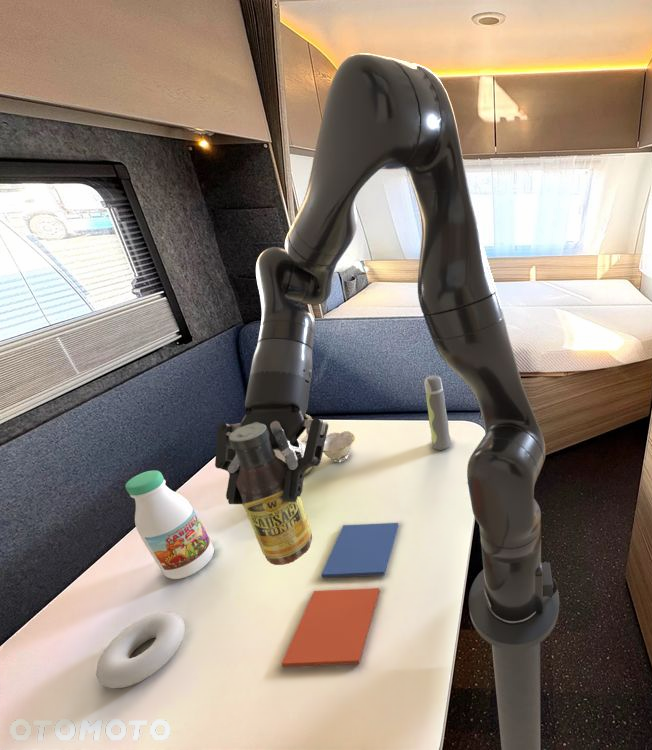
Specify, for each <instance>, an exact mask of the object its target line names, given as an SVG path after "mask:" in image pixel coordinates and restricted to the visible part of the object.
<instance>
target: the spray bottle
mask: <svg viewBox="0 0 652 750" xmlns="http://www.w3.org/2000/svg"><path fill="white" fill-rule="evenodd" d="M423 384H424V390H425V400H426V406H427V413H428V422H429V423H428V424H429V429H430V434H431V437H430V438H431V445H432V447H433V449H435V450H436V451H437V450H438V451H442V450H446V449H448V448H449V447H450V446H451V444H452V440H451V436H450V429H449V428H450V427H449V420H448V415H447V409H446V399H445V392H444V388H443V383H442V378H441V377H440V376H438V375H429V376H427V377H426V378H425V379H424V383H423Z"/></svg>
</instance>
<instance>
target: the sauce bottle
mask: <svg viewBox="0 0 652 750" xmlns="http://www.w3.org/2000/svg"><path fill="white" fill-rule="evenodd" d="M269 436H270V435H269V431H268V429H267V426H266V425H264V424H260V423H254V424H249V425H245V426H242V427H240V428H238V429H236V430H235V431H233V432H232V433H231V434H230V436H229V441H230V444H231V447H232V448H233V449H234V450H235V451H236V454H237V456H238V459H239V462H240V466H241V468H240V472H239V475H238V479H237V483H236V484H237V488H238V490H239V492H240V495H241V498H242V503H243V505H242V506H243V508H244V510H245V513H246V516H247V519H248V520H249V522H250V525H251V528H252V530H253V532H254V535H255V538H256V540H257V542H258V545H259V547H260V550H261V552H262V554H263V556H264V557H265V559H266V561H267V562H268V563H269V564H272V565H274V566H284V565H288V564H290V563H294V562H295V561H296V560H298V559H300V558H301V557H302V556H303V555H304V554H306V553H307V552H308V551H309V550H310V548H311V544H312V540H313V533H312V529H311V526H310V523H309V520H308V516H307V514H306V510H305V508H304V504H303V501H302V498H301V496H300V497H297V500H296V502H284V501H283V491H284V483H285V476H286V471H289V467H288V465H287V463H285V462H284V461H282V460H281V459H279V458H277V457H276V455H275V452H274V450H273V449H272V445H271V443H270V440H269Z"/></svg>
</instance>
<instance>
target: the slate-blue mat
mask: <svg viewBox="0 0 652 750" xmlns="http://www.w3.org/2000/svg"><path fill="white" fill-rule="evenodd" d="M398 528H399V523H398V522H387V523H364V524H344V525H342V526H341V530H340V531H339V534H338V536H337V538H336V541H335V543H334V545H333V547H332V549H331V551H330V554H329V556H328V559H327V561H326V563H325V565H324V567H323V570H322V571H321V574H320V575H321V578H340V577H341V578H343V577H344V578H345V577H346V578H347V577H367V576H368V577H369V576H370V577H371V576H385V574H386V570H387V568H388V563H389V560H390V557H391V553H392V549H393V546H394V543H395V539H396V536H397V532H398Z"/></svg>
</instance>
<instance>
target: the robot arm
mask: <svg viewBox="0 0 652 750" xmlns="http://www.w3.org/2000/svg"><path fill="white" fill-rule="evenodd" d="M328 89H329V90H328V93H327V97H326V100H325V104H324V109H323V113H322V117H321V123H320V127H319V132H318V136H317V141H316V144H315V145H316V146H315V150H314V155H313V159H312V166H311V171H310V174H309V179H308V184H307V188H306V192H305V195H304V198H303V200H302V203H301V205H300V207H299V209H298V210H297V211H298V212H297V213H296V215H295V217H294V220H293V221H292V223H291V225H290V226H289V227H290V228H289V229H288V231H287V233H286V237H285V239H284V248H282V247H279V246H272V247H268V248H266V249H265V250H263V251H261V253H260V254H259V256H258V257H257V260H256V264H255V277H256V279H255V280H256V284H257V289H258V293H259V299H260V300H259V301H260V307H261V310H260V311H261V317H260V318H261V321H260V325H259V333H258V339H257V345H256V348H255V350H254V353H253V356H252V361H251V366H250V372H249V378H248V383H247V388H246V394H245V400H244V407H245V415H244V416H243V418H242V420H241V421H240V422H238V423H231V424H229V423H226V422H221V423H220V424H218V426H217V435H216V445H215V447H216V449H215V463H214V466H215V468H217V469H220V470H224V471H226V472H228V475H229V476H228V481H227V488H226V493H225V498H226V500H227V502H228V505H242V504H243V503H242V498H241V495H240V492H239V490H238V488H237V484H236V483H237V479H238V475H239V472H240V468H241V466H240V462H239V459H238V456H237V454H236V451H235V450H234V449H233V448H232V447H231V444H230V441H229V436H230V434H231V433H232V432H233V431H235V430H236V429H238V428H240V427H242V426H245V425H249V424H254V423H260V424H264V425H266V426H267V429H268V431H269V435H270V436H269V440H270V443H271V445H272V449H273V450H279V451H280V452H281V453H282V454H283V455H284V457H285V460H286V462H287V465H288V467H289V471H286V476H285V483H284V491H283V501H284V502H296V500H297V497H300V498H301V495H302V493H303V484H304V477H305V475H304V472H305V470H306V469H307V468H310V467H312V466H313V467H318V466H319V465H320V464H321V462H322V459H323V454H324V453H323V449H324V444H325V440H326V436H327V435H328V431H329V430H328V429H329V423H328V422H326V421H325V420H323V419H320V418H317V417H315V418H312V420H309V419H308V418H307V417H306V415H307V414H306V413H307V411H308V409H309V399H310V390H311V385H312V384H311V382H312V378H313V350H314V341H315V332H316V320H315V317H314V316H313V315H312V314H311V313H310V312H308V311H307V310H305V309H303V308H302V307H300V306H298V305H296V304H294V303H293V302H292V301H295V302H299V303H302V304H305V305H309V306H310V305H311V306H319V305H321V304H323V303H325V302H326V301H327V300H328V299H329V297H330V296H331V294H332V289H333V285H334V284H333V283H334V275H335V274H334V273H335V270H336V267H337V265H338V263H339V261H340V260H341V258H342V257H343V256H344V254H345V253H346V251H347V250H348V248H349V247H350V245H351V244H352V242H353V240H354V238H355V235H356V232H357V228H358V215H357V214H358V213H357V207H356V198H357V195H358V194H359V192H360V191H361V189H362V188H363V187H364V186H365V185H366V183H368V181H369V180H370V179H371V178H372V177H373V176H374V175H376V174H377V173H378V172H379V171H380V170H405V172H406V174H407V176H408V178H409V181H410V184H411V186H412V187H411V188H412V190H413V193H414V197H415V200H416V203H417V206H418V211H419V216H420V223H421V224H420V225H421V240H420V252H419V261H418V270H417V271H418V273H417V297H418V304H419V306H420V310H421V313H422V314H423V319H424V321H425V323H426V326H427V330H428V332H429V335H430V337H431V341H432V343H433V345H434V348H435V349H436V351H437V353H438V355H439V356H440V358H441V359H442V360H443V361H444V363H445V364H446V365H447V366H448V367H449V368H450V369H451V370H452V371H453V372H454V373H455V374H456V375H457V376H458V377H459V378H460V379H461V380H462V381H463V382H464V383H465V384H466V385H467V386H468V387H469V389H470V390H471V391H472V393H473V395H474V397H475V399H476V401H477V405H478V407H479V410H480V414H481V416H482V421H483V424H484V430H485V433H484V436H483V437H482V439H481V440H480V441H479V443H478V445H477V446H476V447H475V449H474V451H473V452H472V454H471V455H470V457H469V459H468V463H467V466H466V467H467V468H466V477H467V486H468V492H469V498H470V504H471V510H472V514H473V516H474V518H475V520H476V522H477V524H478V525H479V536H480V545H481V546H480V547H481V556H482V567H483V569H484V578H485V588H486V592H485V589H484V593H485V595H486V603H487V607H488V609H489V611H490V613H491V614H492V615H493V616H494V617H495V618H496V619H497V620H499V621H501V622H503V623H506V624H511V625H517V624H522V623H525V622H527V621H529V620H530V619H532V618H533V617H534V616H535V615H536V614H542V613H543V597H545V596H549V597H550V598H552V596H553V595H554V594H555V593H556V591H557V589H558V588H559V586H558V583H557V581H556V580H555V578H554V577H552V570H551V564H550V562H542V512H541V508H540V505H539V503H538V502H537V500H536V499H535V486H536V483H537V481H538V478H539V476H540V473H541V470H542V468H543V466H544V464H545V460H546V453H547V448H546V442H545V438H544V435H543V432H542V430H541V428H540V425H539V422H538V420H537V417H536V416H535V413H534V410H533V407H532V405H531V403H530V401H529V399H528V396H527V393H526V391H525V388H524V385H523V382H522V379H521V375H520V371H519V367H518V363H517V359H516V356H515V353H514V350H513V345H512V342H511V339H510V336H509V331H508V327H507V323H506V318H505V316H504V312H503V309H502V305H501V301H500V298H499V295H498V291H497V288H496V284H495V282H494V279H493V275H492V273H491V270H490V269H491V268H490V266H489V262H488V258H487V255H486V251H485V248H484V244H483V240H482V236H481V233H480V229H479V225H478V221H477V218H476V213H475V211H474V207H473V203H472V197H471V193H470V188H469V183H468V178H467V171H466V168H465V162H464V156H463V150H462V146H461V140H460V134H459V131H458V130H459V129H458V125H457V121H456V116H455V112H454V109H453V106H452V105H453V104H452V102H451V100H450V97H449V94H448V92H447V90H446V88H445V87H444V85H443V83H442V81H441V80H440V79H439V78H438V76H437V75H436V74H435V73H434V72H432V71H431V70H430V69H429V68H427V67H425V66H422V65H420V64H418V63H414V62H410V61H409V62H408V61H405V60H401V59H397V58H393V57H388V56H384V55H383V56H382V55H378V54H373V53H362V52H361V53H360V52H359V53H356V54H351V55H349V57H347V58H346V59H345V60H343V61H342V62H341V64H340V65H339V67H338V68H337V70H336V72H335V73H334V76H333V78H332V81H331V84H330V86H329V88H328ZM290 300H292V301H290ZM305 431H306V434H308V439H307V443H305V444H306V447H305V452H304V456H303V449H302V447H301V444H300V442H299V439H300V437H301V435H302V434H303V433H304V432H305ZM298 438H299V439H298ZM313 467H312V468H313Z"/></svg>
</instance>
